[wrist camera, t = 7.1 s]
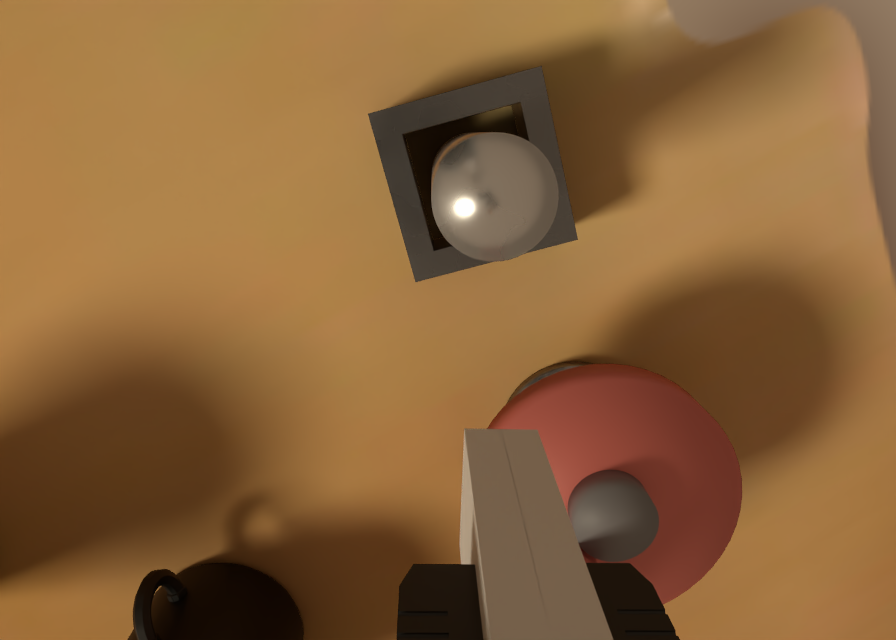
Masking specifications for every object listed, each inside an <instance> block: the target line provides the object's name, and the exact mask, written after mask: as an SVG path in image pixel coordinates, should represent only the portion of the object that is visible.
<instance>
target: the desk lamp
mask: <svg viewBox="0 0 896 640" xmlns="http://www.w3.org/2000/svg"><path fill="white" fill-rule="evenodd" d="M487 429H524V430H538V433H539V436H540V438H541V441H542V444H543V447H544V449H545V452H546V455H547V458H548V460H549V463H550V466H551V469H552V471H553V474H554V477H555V480H556V483H557V485H558V488H559V491H560V494H561V496H562V499H563V502H564V505H565V507H566V510H567V513H568V516H569V518H570V521H571V524H572V527H573V529H574V532H575V535H576V538H577V541H578V543H579V546H580V549H581V552H582V554H583V557H584V560H585V563H630V564H631V565H632V566H634V567H635V568H636V569H637V570H638V571H639V572H640V573H641V574H642V575H643V576H644V577H645V578H646V579H648V580H649V581H650V582H651V583H652V584H653V586H654V588H655V590H656V592H657V594H658V596H659V598H660V600H661V602H662V604H665V603H667V602H669V601H671V600H673V599H674V598H676V597H677V596H679V595H681V594H682V593H684V592H685V591H687V590H688V589H689V588H691V587H692V586H693V585H694V584H695V583H697V582H698V581H699V580H700V579H701V578H702V577H703V576H704V575H705V574H706V573H707V572H708V571H709V570H710V569H711V568H712V567H713V566H714V564H715V563H716V562H717V560H718V559H719V558H720V556H721V555H722V553H723V552H724V550H725V548H726V547H727V545H728V543H729V541H730V539H731V537H732V535H733V532H734V530H735V527H736V525H737V521H738V517H739V513H740V508H741V500H742V478H741V473H740V467H739V463H738V460H737V457H736V454H735V451H734V448H733V446H732V444H731V443H730V441H729V439H728V437H727V435H726V434H725V432H724V431H723V429H722V428H721V427H720V425H719V424H718V423H717V421H716V420H715V419H714V418H713V417H712V416H711V415H710V414H709V413H708V412H707V411H706V410H705V409H704V408H703V407H702V406H701V405H700V404H699V403H698V402H697V401H696V400H695V399H694V398H693V397H692V396H691V395H690V394H689V393H688V392H686V391H685V390H684V389H682V388H681V387H680V386H678V385H677V384H676V383H674V382H672V381H670V380H669V379H667V378H665V377H663V376H661V375H659V374H656V373H654V372H651V371H648V370H646V369H642V368H637V367H633V366H629V365H619V364H592V365H585V366H578V367H574V368H570V369H567V370H563V371H560V372H557V373H555V374H552V375H550V376H547V377H545V378H543V379H541V380H539V381H537V382H536V383H534V384H532V385H530V386H529V387H527V388H526V389H524V390H523V391H522V392H520V393H519V394H518V395H516V396H515V397H514V398H513V399H512V400H511V401H510V402H509V403H507V404H506V405H505V406H504V407H503V408H502V409H501V411H500V412H499V413H498V414H497V416H496V417H495V418H494V419H493V420H492V422H491V423H490V425H489V427H488V428H487Z"/></svg>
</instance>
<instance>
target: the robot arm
mask: <svg viewBox="0 0 896 640" xmlns="http://www.w3.org/2000/svg"><path fill="white" fill-rule="evenodd" d="M460 556H461V564H413V566H412V567H411V569H410V570H409V572H408V573H407V575H406V576H405V578H404V580H403V581H402V583H401V584H400V586H399V604H398V622H397V640H680V639H679V637H678V636H676V634H675V629H674V627H673V625H672V623H671V621H670V619H669V617H668V614H665V608H664V606H663V604H662V602H661V600H660V598H659V596H658V594H657V592H656V590H655V588H654V586H653V584H652V583H651V582H650V581H649V580H648V579H646V578H645V577H644V576H643V575H642V574H641V573H640V572H639V571H638V570H637V569H636V568H635V567H634V566H632V565H631V564H630V563H585V560H584V557H583V554H582V552H581V549H580V546H579V543H578V541H577V538H576V535H575V532H574V529H573V527H572V524H571V521H570V518H569V516H568V513H567V510H566V507H565V505H564V502H563V499H562V496H561V494H560V491H559V488H558V485H557V483H556V480H555V477H554V474H553V471H552V469H551V466H550V463H549V460H548V458H547V455H546V452H545V449H544V447H543V444H542V441H541V438H540V436H539V433H538V430H524V429H464V449H463V473H462V496H461V520H460Z"/></svg>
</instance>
